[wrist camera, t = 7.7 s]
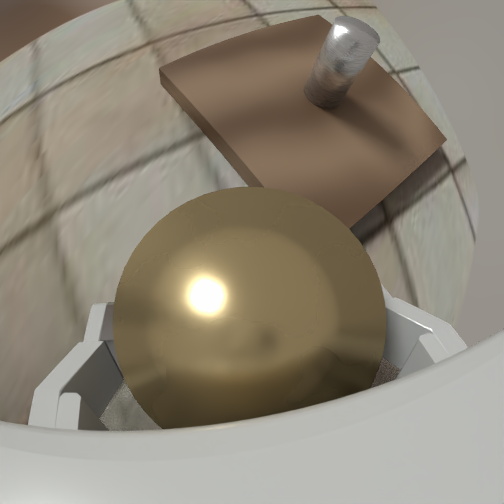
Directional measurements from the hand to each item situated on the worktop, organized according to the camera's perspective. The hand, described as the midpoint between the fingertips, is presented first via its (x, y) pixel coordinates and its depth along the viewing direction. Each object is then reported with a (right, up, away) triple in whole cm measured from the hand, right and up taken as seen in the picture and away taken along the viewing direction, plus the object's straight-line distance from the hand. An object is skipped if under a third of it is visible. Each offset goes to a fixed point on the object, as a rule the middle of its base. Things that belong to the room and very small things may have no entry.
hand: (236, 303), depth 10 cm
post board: (+4, +11, +8) cm, 14 cm away
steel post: (+5, +11, +7) cm, 14 cm away
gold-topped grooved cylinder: (-1, -1, +4) cm, 4 cm away
